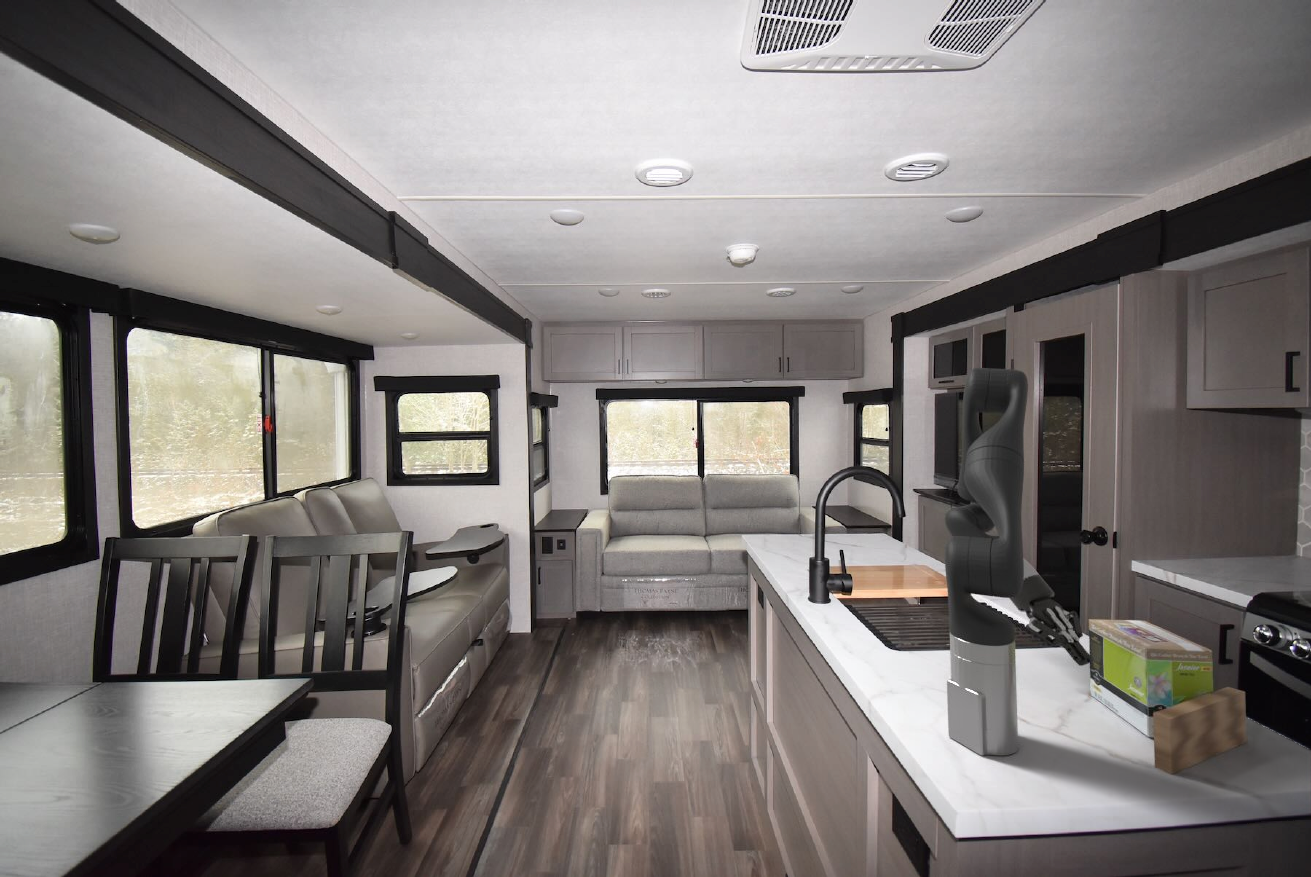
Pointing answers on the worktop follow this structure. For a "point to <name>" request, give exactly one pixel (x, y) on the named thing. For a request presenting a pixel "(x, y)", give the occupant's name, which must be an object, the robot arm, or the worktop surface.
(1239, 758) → the worktop surface
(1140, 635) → the tea box
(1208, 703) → the wooden block
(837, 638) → the worktop surface
